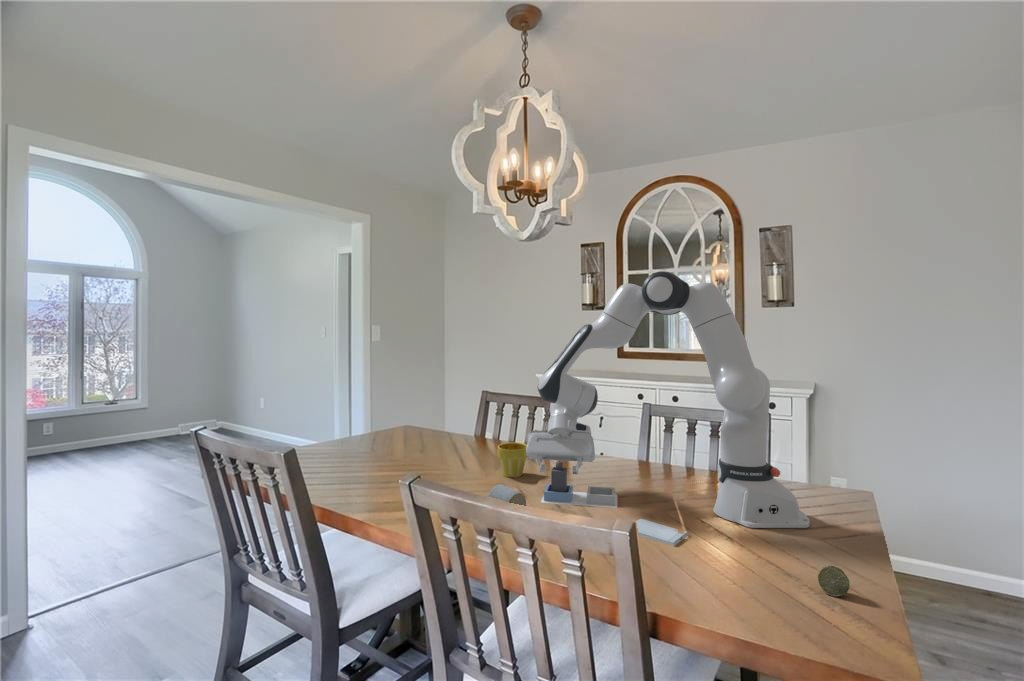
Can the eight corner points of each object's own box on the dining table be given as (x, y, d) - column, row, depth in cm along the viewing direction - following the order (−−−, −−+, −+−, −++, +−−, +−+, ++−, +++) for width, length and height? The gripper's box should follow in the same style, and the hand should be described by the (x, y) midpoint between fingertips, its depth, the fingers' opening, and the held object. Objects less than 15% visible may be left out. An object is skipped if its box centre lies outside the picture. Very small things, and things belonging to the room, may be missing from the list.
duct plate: (617, 497, 148) (617, 486, 148) (617, 511, 137) (617, 498, 137) (545, 493, 152) (545, 481, 152) (540, 506, 141) (540, 493, 141)
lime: (853, 600, 92) (853, 573, 92) (824, 598, 93) (824, 571, 93) (841, 588, 97) (842, 562, 97) (814, 586, 98) (814, 560, 98)
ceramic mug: (509, 524, 128) (509, 494, 128) (486, 516, 134) (487, 487, 134) (536, 513, 136) (536, 485, 136) (514, 506, 142) (514, 479, 142)
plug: (566, 495, 147) (566, 461, 147) (565, 499, 144) (565, 464, 143) (553, 494, 148) (553, 460, 148) (551, 498, 144) (551, 464, 144)
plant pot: (526, 479, 166) (526, 450, 165) (495, 478, 167) (494, 449, 167) (530, 471, 176) (529, 442, 176) (500, 469, 177) (500, 441, 177)
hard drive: (625, 527, 124) (674, 541, 115) (640, 517, 130) (688, 530, 122) (625, 534, 124) (673, 548, 115) (641, 524, 130) (688, 537, 122)
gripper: (527, 424, 154) (521, 464, 145) (595, 426, 150) (593, 468, 141) (529, 435, 159) (524, 475, 149) (595, 438, 155) (594, 479, 145)
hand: (558, 472), depth 145 cm, fingers open, 8 cm apart
